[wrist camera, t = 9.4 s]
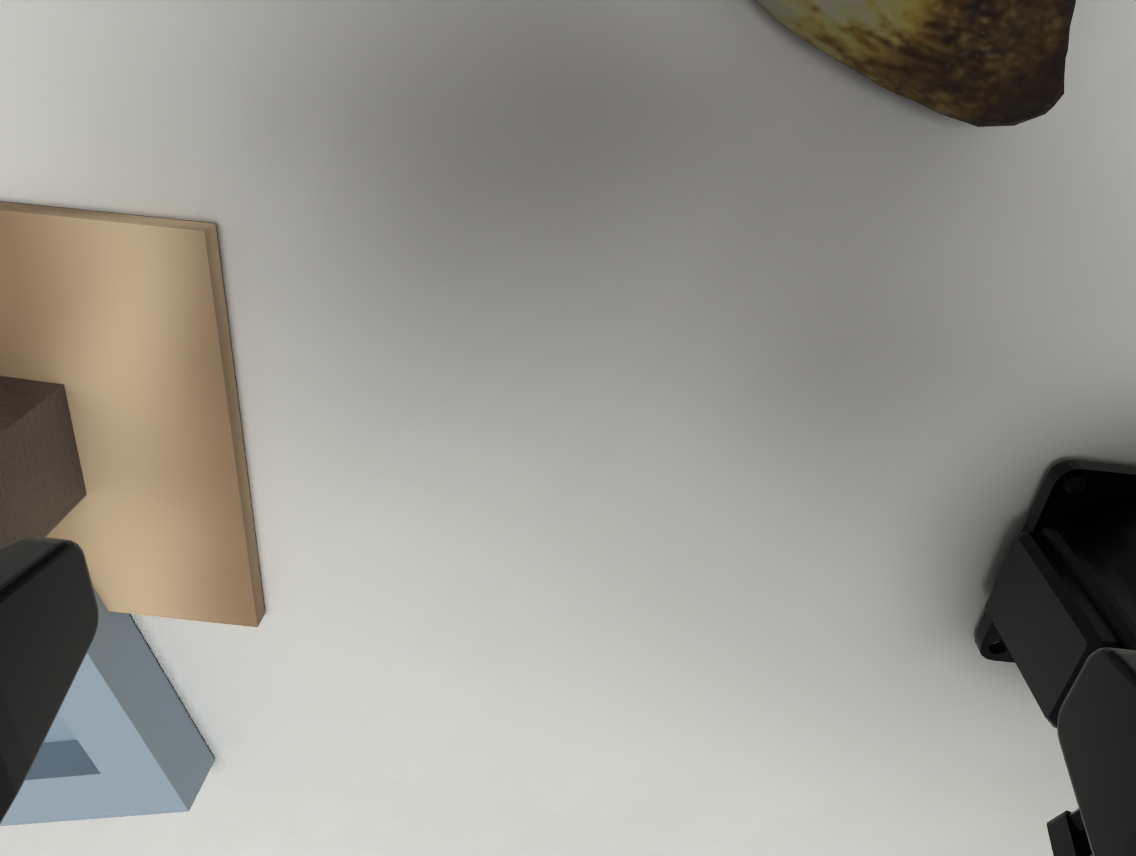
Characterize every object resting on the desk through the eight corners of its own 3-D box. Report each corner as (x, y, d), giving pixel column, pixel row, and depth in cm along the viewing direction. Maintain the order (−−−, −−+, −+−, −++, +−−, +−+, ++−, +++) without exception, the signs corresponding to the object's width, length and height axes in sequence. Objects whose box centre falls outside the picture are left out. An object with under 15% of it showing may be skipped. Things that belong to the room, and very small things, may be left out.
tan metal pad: (215, 223, 19) (204, 231, 19) (265, 613, 25) (257, 627, 25) (-297, 171, 19) (-322, 177, 19) (-127, 571, 25) (-142, 584, 25)
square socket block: (94, 555, 25) (54, 601, 23) (214, 759, 29) (188, 811, 27) (-167, 589, 26) (-223, 635, 24) (-15, 779, 30) (-53, 830, 28)
